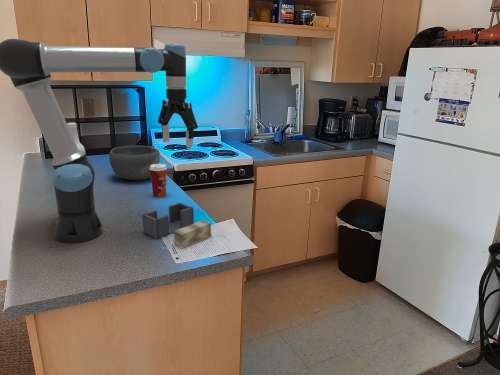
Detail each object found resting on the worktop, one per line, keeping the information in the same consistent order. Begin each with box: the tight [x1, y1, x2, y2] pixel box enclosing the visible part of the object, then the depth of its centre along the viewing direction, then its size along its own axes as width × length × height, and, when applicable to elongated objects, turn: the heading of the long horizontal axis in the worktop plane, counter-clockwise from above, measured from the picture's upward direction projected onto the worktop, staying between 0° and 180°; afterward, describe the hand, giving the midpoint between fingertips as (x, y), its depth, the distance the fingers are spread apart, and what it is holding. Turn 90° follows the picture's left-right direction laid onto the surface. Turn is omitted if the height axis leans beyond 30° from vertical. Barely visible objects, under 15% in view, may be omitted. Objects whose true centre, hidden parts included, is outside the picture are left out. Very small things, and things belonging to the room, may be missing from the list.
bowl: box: [108, 145, 161, 181], centre depth 195 cm, size 24×24×15 cm
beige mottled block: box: [173, 219, 212, 248], centre depth 131 cm, size 13×4×5 cm, turn 140°
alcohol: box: [66, 122, 87, 156], centre depth 177 cm, size 9×9×30 cm
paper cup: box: [149, 163, 168, 198], centre depth 171 cm, size 8×8×14 cm
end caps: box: [141, 202, 195, 240], centre depth 138 cm, size 17×8×7 cm, turn 140°
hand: (177, 144), depth 149 cm, fingers open, 13 cm apart
